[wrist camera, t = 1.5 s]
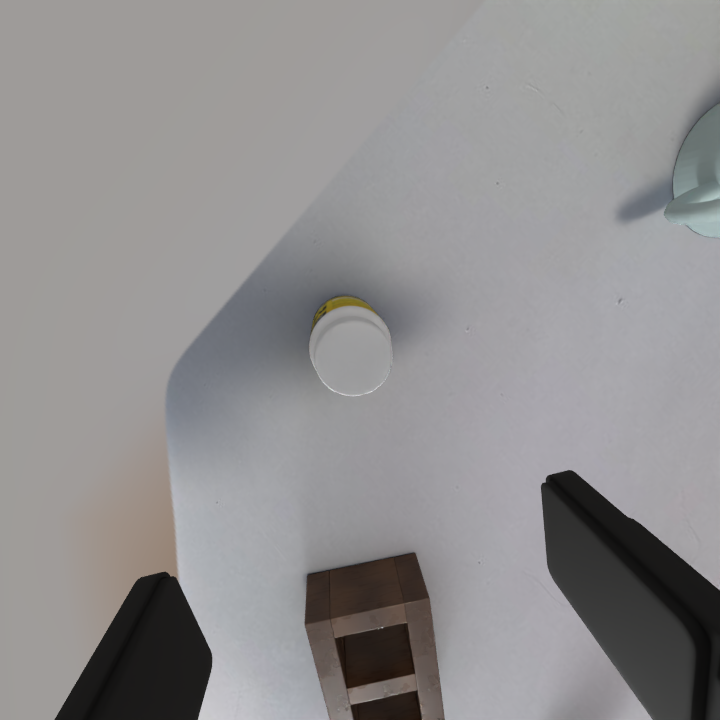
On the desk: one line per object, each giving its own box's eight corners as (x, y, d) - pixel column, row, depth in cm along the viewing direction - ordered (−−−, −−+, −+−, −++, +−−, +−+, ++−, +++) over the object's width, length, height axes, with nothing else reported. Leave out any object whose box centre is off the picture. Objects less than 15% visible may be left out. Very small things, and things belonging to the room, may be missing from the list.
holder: (340, 708, 36) (342, 768, 32) (306, 574, 31) (304, 624, 27) (433, 687, 37) (447, 743, 33) (415, 552, 32) (429, 598, 28)
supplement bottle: (315, 290, 25) (310, 306, 17) (381, 298, 25) (408, 316, 17) (309, 356, 26) (302, 400, 18) (372, 362, 27) (393, 407, 19)
